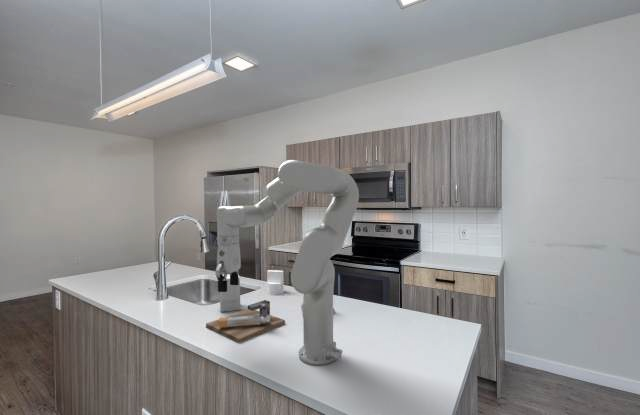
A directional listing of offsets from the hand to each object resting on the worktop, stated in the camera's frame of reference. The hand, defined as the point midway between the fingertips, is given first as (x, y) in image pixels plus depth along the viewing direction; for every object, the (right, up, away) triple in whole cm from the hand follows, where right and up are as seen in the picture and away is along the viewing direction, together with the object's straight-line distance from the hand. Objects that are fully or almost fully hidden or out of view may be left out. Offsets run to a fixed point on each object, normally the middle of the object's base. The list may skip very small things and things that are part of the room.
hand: (228, 288), depth 110 cm
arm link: (+4, -16, +7) cm, 18 cm away
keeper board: (+3, -18, +11) cm, 22 cm away
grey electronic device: (+32, -18, +21) cm, 42 cm away
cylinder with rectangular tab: (+9, -18, +56) cm, 60 cm away
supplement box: (-9, -18, +32) cm, 38 cm away
